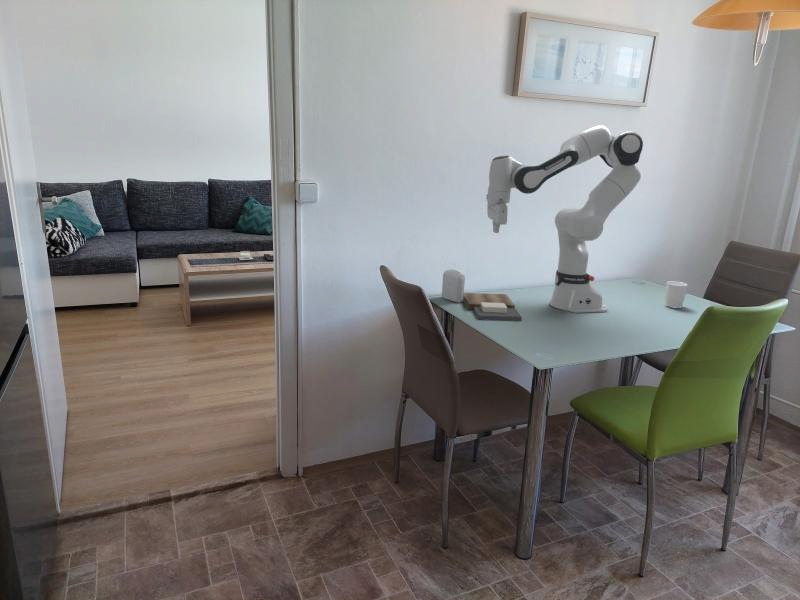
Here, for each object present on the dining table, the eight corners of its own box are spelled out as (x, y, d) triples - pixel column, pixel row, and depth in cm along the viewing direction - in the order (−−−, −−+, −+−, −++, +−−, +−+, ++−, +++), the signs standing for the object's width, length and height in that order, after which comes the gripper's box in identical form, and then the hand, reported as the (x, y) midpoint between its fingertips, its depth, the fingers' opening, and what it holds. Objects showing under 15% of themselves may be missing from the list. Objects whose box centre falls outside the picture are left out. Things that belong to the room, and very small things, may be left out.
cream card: (503, 308, 224) (504, 303, 223) (506, 312, 218) (507, 307, 217) (480, 307, 223) (480, 302, 223) (482, 311, 218) (483, 306, 217)
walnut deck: (505, 300, 240) (506, 294, 240) (514, 311, 225) (515, 305, 224) (462, 298, 239) (463, 292, 239) (468, 310, 224) (468, 304, 223)
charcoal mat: (514, 311, 225) (515, 308, 224) (521, 320, 214) (521, 316, 214) (473, 310, 224) (474, 306, 223) (478, 319, 213) (478, 315, 213)
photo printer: (440, 297, 240) (441, 268, 237) (447, 296, 243) (449, 267, 239) (456, 303, 232) (459, 273, 229) (464, 302, 235) (467, 272, 231)
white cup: (673, 303, 246) (677, 280, 244) (687, 308, 239) (692, 285, 236) (658, 304, 244) (662, 281, 241) (672, 309, 237) (676, 286, 234)
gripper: (512, 201, 220) (509, 237, 224) (500, 195, 240) (498, 228, 243) (496, 200, 220) (493, 236, 223) (485, 194, 239) (483, 228, 243)
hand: (495, 232), depth 234 cm, fingers closed
